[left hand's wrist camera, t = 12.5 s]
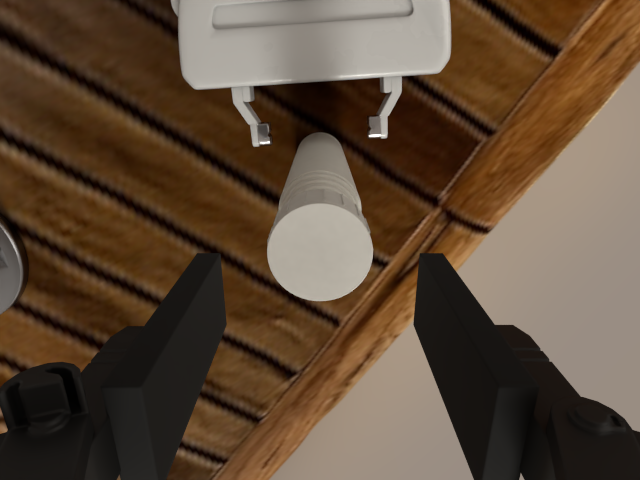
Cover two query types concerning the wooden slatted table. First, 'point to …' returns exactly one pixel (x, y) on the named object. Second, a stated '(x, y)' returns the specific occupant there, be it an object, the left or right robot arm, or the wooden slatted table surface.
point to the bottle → (319, 169)
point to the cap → (320, 245)
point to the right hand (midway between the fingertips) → (319, 141)
